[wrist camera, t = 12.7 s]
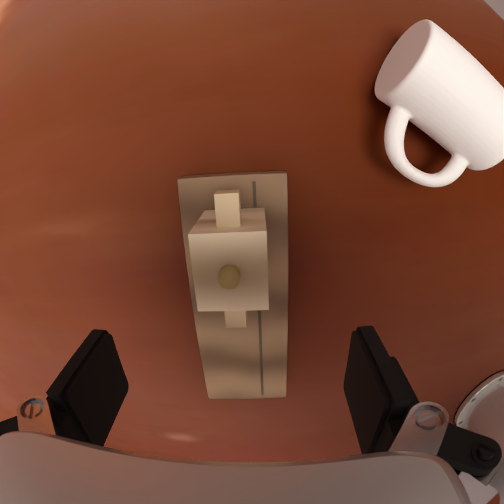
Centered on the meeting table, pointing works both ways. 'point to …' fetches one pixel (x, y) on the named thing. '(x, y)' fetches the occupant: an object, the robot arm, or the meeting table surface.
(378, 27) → the meeting table surface
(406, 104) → the mug
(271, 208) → the board
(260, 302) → the beige block with peg
